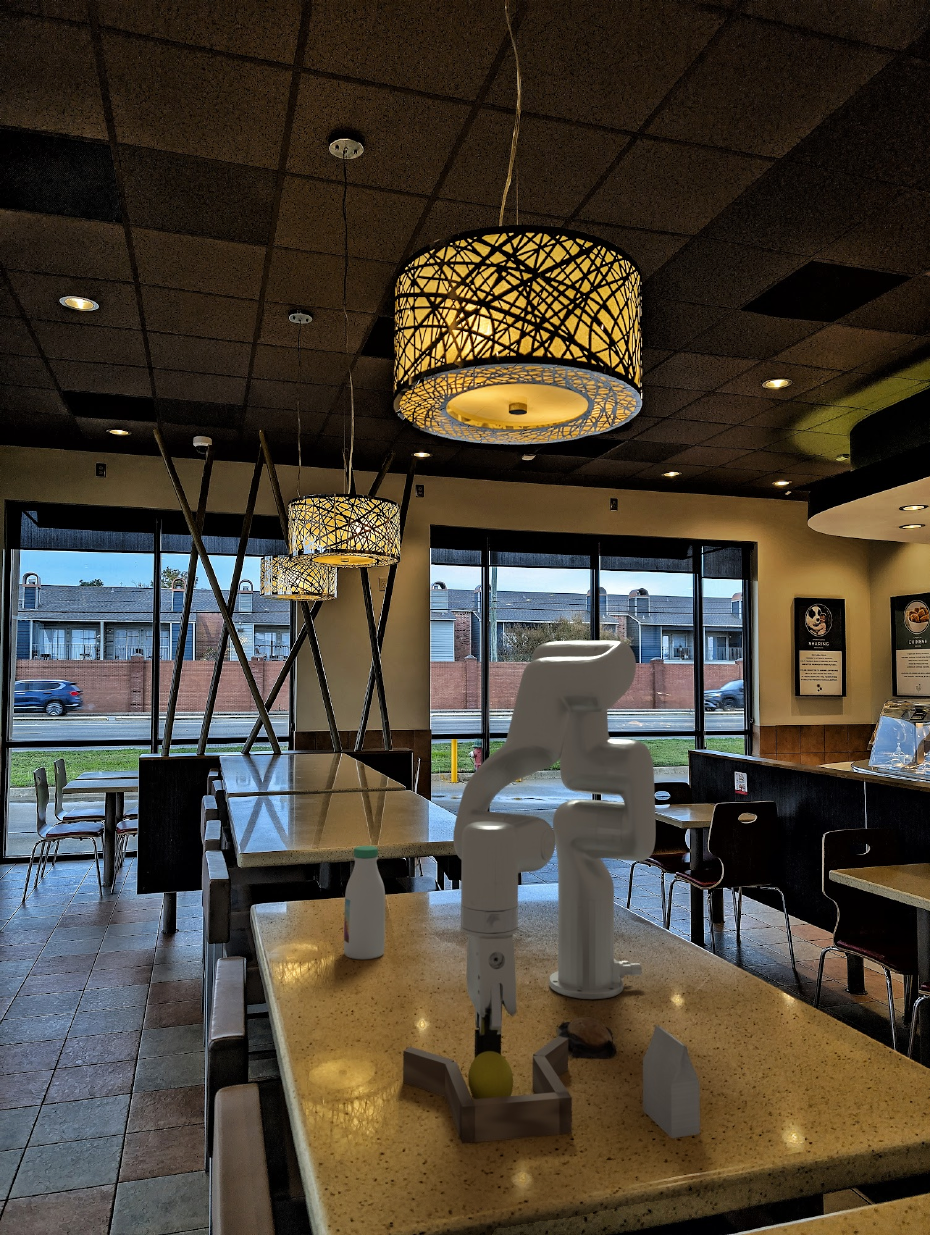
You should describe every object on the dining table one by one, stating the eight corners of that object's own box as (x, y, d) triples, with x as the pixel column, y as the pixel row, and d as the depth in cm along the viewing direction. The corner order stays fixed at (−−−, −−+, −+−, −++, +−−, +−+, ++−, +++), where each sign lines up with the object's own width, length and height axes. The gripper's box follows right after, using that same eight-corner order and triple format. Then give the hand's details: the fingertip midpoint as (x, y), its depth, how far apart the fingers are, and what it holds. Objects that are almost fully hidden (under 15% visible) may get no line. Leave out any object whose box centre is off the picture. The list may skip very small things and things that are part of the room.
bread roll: (552, 1032, 131) (552, 1007, 131) (608, 1032, 131) (607, 1007, 131) (563, 1063, 120) (563, 1036, 120) (623, 1062, 120) (623, 1035, 121)
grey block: (671, 1138, 100) (671, 1048, 100) (643, 1110, 106) (642, 1026, 107) (699, 1134, 101) (699, 1045, 101) (669, 1106, 107) (669, 1023, 108)
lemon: (501, 1076, 112) (508, 1128, 104) (461, 1068, 111) (464, 1119, 104) (515, 1042, 111) (522, 1091, 103) (473, 1033, 110) (478, 1082, 102)
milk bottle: (391, 951, 167) (393, 845, 168) (371, 963, 160) (372, 852, 161) (357, 945, 170) (359, 842, 172) (335, 957, 163) (337, 849, 165)
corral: (565, 1065, 118) (565, 1035, 118) (610, 1129, 101) (610, 1093, 102) (401, 1078, 114) (402, 1047, 114) (420, 1147, 97) (421, 1110, 97)
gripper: (531, 933, 107) (530, 1087, 106) (504, 903, 122) (503, 1038, 121) (471, 935, 106) (469, 1091, 105) (451, 905, 121) (449, 1041, 119)
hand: (487, 1062), depth 113 cm, fingers closed
